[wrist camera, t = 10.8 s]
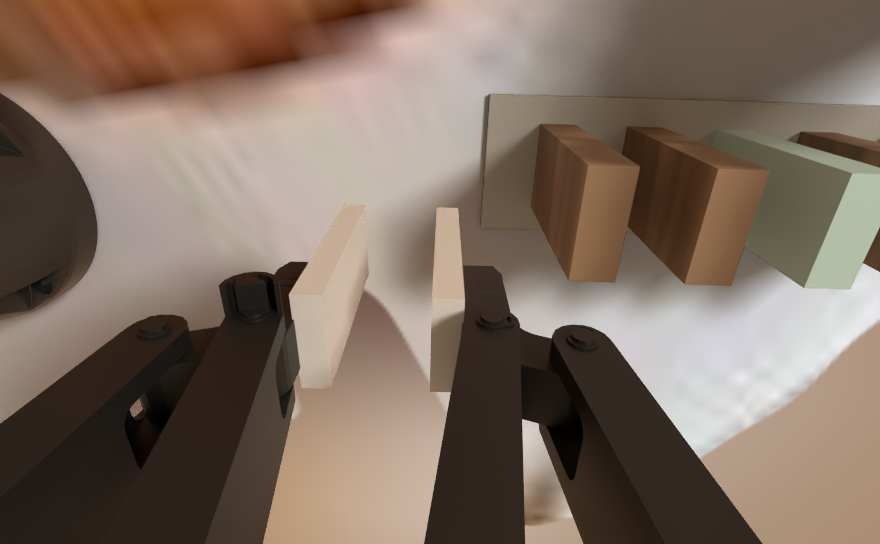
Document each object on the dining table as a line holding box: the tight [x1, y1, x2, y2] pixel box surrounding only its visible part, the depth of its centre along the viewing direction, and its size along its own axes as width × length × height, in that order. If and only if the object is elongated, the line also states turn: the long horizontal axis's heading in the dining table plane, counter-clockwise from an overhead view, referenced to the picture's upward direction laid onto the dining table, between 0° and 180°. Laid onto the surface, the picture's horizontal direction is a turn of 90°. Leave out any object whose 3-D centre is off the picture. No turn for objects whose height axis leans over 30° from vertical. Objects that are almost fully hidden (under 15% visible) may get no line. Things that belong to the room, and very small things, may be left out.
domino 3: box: [797, 132, 880, 272], centre depth 24 cm, size 2×5×10 cm, turn 179°
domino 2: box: [622, 126, 770, 286], centre depth 24 cm, size 2×5×10 cm, turn 178°
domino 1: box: [531, 124, 640, 282], centre depth 24 cm, size 2×5×10 cm, turn 178°
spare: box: [712, 129, 880, 289], centre depth 24 cm, size 2×5×10 cm, turn 179°
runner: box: [481, 94, 880, 233], centre depth 28 cm, size 28×8×1 cm, turn 88°
